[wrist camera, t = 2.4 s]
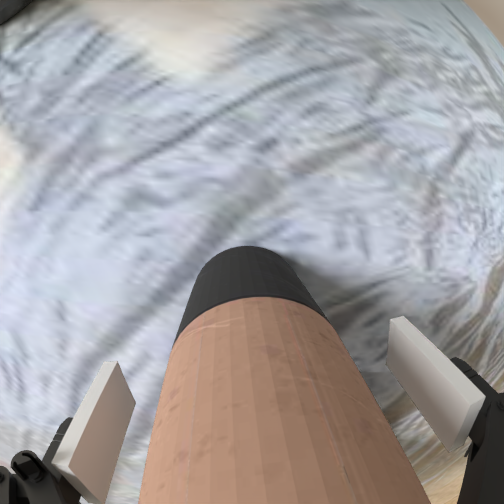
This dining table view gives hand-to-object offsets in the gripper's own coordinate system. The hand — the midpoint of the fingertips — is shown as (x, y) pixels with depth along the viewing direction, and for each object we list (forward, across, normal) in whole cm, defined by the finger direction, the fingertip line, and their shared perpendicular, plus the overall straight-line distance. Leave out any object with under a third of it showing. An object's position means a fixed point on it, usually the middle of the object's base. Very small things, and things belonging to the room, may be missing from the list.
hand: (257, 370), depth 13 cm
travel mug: (+8, 0, 0) cm, 8 cm away
